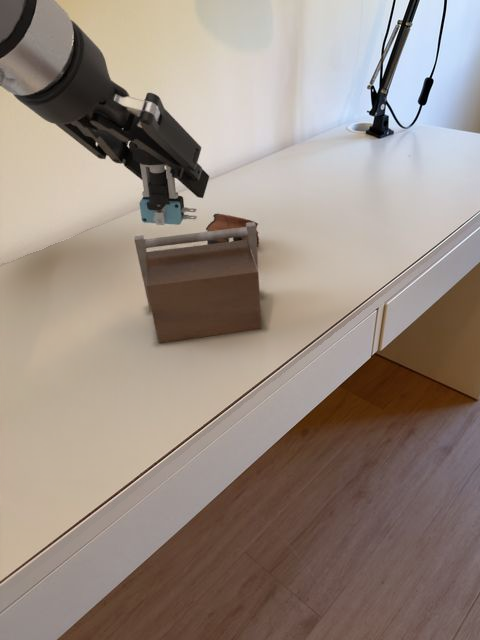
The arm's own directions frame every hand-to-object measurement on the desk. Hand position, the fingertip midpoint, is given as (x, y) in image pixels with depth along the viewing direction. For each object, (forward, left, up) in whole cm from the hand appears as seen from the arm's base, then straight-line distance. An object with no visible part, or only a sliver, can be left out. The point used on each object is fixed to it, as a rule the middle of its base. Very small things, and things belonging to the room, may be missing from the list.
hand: (181, 183), depth 63 cm
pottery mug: (-15, +7, -20) cm, 26 cm away
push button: (+3, -2, -3) cm, 5 cm away
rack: (+1, +1, -19) cm, 19 cm away
